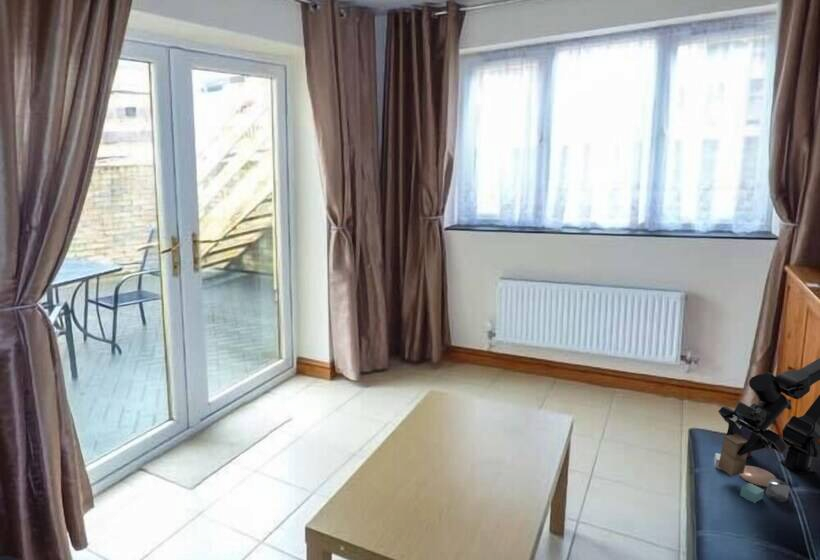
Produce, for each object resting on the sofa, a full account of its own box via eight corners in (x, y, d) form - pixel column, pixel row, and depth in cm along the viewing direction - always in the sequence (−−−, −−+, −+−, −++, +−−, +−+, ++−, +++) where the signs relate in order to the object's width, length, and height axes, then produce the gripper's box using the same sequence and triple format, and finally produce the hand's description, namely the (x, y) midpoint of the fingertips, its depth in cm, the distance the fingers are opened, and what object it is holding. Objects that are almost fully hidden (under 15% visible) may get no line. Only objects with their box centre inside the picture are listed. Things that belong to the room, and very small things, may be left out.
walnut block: (730, 464, 165) (736, 433, 162) (743, 473, 160) (749, 441, 158) (718, 466, 163) (724, 435, 161) (731, 475, 159) (737, 443, 157)
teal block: (747, 492, 158) (749, 482, 157) (762, 499, 155) (764, 490, 154) (739, 496, 156) (741, 486, 155) (754, 504, 152) (756, 494, 152)
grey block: (713, 461, 173) (715, 452, 172) (728, 464, 171) (730, 456, 171) (714, 468, 169) (716, 459, 168) (730, 471, 168) (731, 462, 167)
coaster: (756, 465, 171) (757, 464, 171) (785, 485, 162) (785, 483, 161) (729, 469, 169) (730, 467, 168) (757, 488, 159) (757, 487, 159)
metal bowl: (774, 489, 159) (777, 477, 158) (791, 500, 155) (794, 487, 153) (761, 492, 157) (764, 480, 156) (777, 503, 153) (781, 491, 152)
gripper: (728, 380, 166) (692, 418, 165) (786, 409, 149) (747, 451, 148) (744, 402, 170) (709, 439, 170) (802, 432, 153) (764, 474, 152)
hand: (731, 450), depth 160 cm, fingers closed on walnut block, 4 cm apart
